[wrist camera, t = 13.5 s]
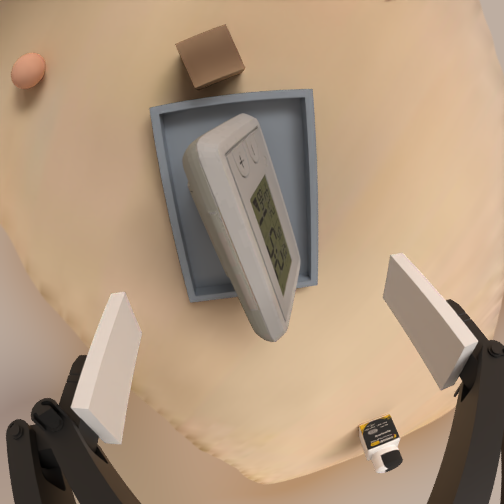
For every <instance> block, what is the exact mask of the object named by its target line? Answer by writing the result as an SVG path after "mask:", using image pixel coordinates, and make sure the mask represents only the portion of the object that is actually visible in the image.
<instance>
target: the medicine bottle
mask: <svg viewBox="0 0 504 504" xmlns="http://www.w3.org/2000/svg"><path fill="white" fill-rule="evenodd" d="M359 438H360V441H361V444H362V447H363V450H364V453H365V456H366V458H367V460H372V463H373V465H374V468H375V471H376V472H377V473H385V472H388V471H390V470H392V469H394V468H396V467H398V466H399V465H400V464H401V463H402V460H403V459H402V457H401V455H400V452H399V449H398V447H397V446H398V443H399V440H400V437H399V434H398V432H397V430H396V427H395V425H394V423H393V421H392V418H391V416H390V414H386V415H384V416H381V417H379V418H376V419H374V420H371V421H368V422H366V423H363V424H360V425H359Z"/></svg>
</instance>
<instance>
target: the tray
mask: <svg viewBox="0 0 504 504" xmlns="http://www.w3.org/2000/svg"><path fill="white" fill-rule="evenodd" d="M242 113H245V114H247V115H250V116H252V117H254V118H256V119H257V120H258V122H259V124H260V127H261V130H262V133H263V136H264V139H265V142H266V145H267V148H268V151H269V154H270V157H271V160H272V163H273V167H274V170H275V173H276V176H277V179H278V183H279V186H280V189H281V192H282V196H283V199H284V202H285V206H286V209H287V212H288V216H289V219H290V223H291V226H292V229H293V233H294V236H295V240H296V243H297V247H298V251H299V255H300V270H299V275H298V280H297V286H296V288H301V287H308V286H314V285H317V284H318V183H317V154H316V133H315V116H314V102H313V89H295V90H275V91H260V92H249V93H239V94H230V95H221V96H214V97H207V98H200V99H194V100H188V101H182V102H176V103H171V104H166V105H161V106H156V107H151V108H150V115H151V121H152V127H153V134H154V140H155V146H156V151H157V157H158V163H159V168H160V173H161V179H162V184H163V189H164V194H165V199H166V204H167V208H168V213H169V218H170V222H171V227H172V231H173V236H174V240H175V244H176V249H177V253H178V257H179V261H180V265H181V269H182V273H183V277H184V281H185V285H186V289H187V293H188V296H189V300H190V302H199V301H207V300H215V299H223V298H231V297H238V296H237V293H236V291H235V289H234V287H233V284H232V282H231V280H230V278H229V277H228V276H227V275H226V274H225V271H224V269H223V267H222V265H221V262H220V260H219V258H218V256H217V253H216V251H215V249H214V246H213V244H212V242H211V240H210V237H209V235H208V233H207V230H206V228H205V226H204V223H203V221H202V219H201V216H200V214H199V212H198V209H197V207H196V205H195V202H194V200H193V198H192V195H191V193H190V190H189V188H188V179H187V176H186V174H185V171H184V168H183V163H182V159H183V155H184V152H185V151H186V149H187V148H188V146H189V145H190V144H191V143H192V142H193V141H194V140H196V139H197V138H198V137H200V136H201V135H203V134H205V133H206V132H208V131H210V130H212V129H213V128H215V127H217V126H218V125H220V124H222V123H224V122H226V121H227V120H229V119H231V118H233V117H235V116H237V115H239V114H242Z"/></svg>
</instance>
